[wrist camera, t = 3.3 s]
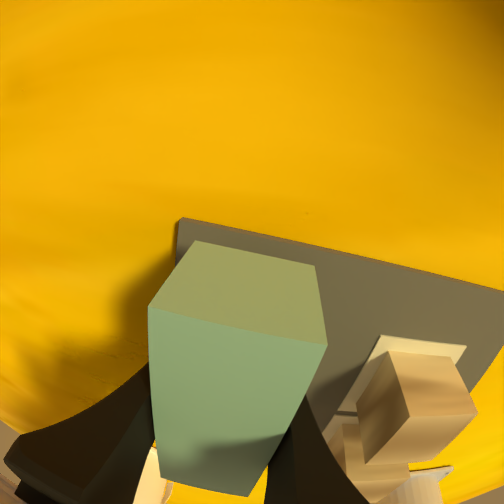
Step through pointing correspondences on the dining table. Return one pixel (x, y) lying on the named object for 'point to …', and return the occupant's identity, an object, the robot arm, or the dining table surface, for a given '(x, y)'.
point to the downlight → (152, 483)
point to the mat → (374, 316)
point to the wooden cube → (365, 476)
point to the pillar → (412, 408)
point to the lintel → (230, 363)
